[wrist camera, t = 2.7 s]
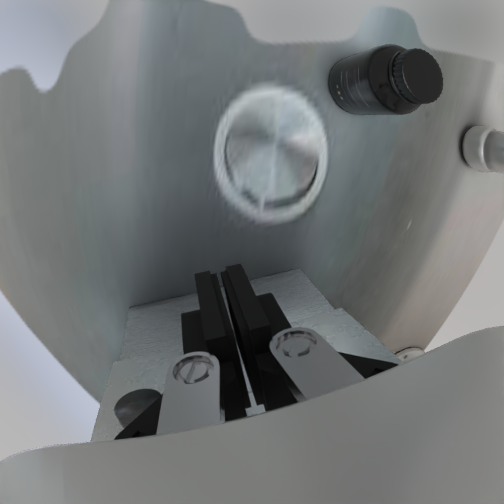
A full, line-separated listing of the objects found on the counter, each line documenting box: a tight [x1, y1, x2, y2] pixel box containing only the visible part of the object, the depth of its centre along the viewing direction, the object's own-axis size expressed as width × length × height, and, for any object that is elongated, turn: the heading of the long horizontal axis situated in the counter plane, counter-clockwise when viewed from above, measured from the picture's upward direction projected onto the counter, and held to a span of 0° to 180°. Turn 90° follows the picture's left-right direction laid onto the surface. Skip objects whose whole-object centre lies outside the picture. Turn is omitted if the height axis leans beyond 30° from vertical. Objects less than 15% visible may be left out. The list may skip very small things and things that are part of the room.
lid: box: [90, 308, 404, 442], centre depth 17 cm, size 18×20×3 cm
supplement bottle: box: [329, 44, 443, 115], centre depth 26 cm, size 7×7×12 cm
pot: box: [120, 268, 335, 361], centre depth 34 cm, size 18×26×11 cm
